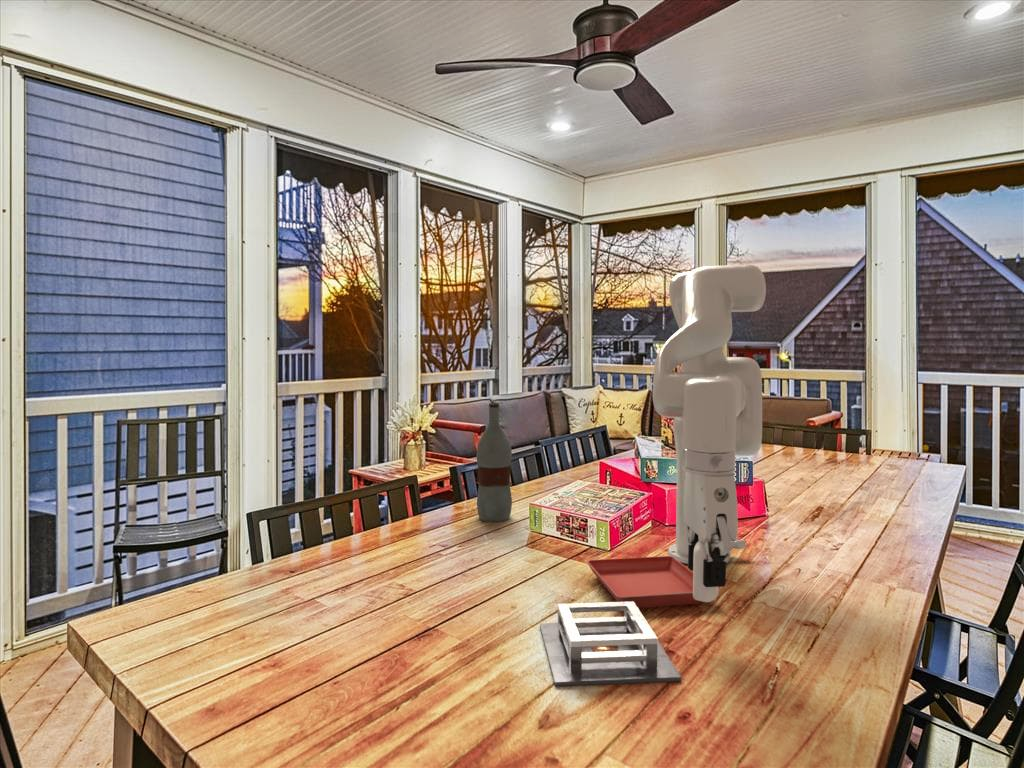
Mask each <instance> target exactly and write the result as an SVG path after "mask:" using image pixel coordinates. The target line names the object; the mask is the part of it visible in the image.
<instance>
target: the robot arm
mask: <svg viewBox="0 0 1024 768" xmlns="http://www.w3.org/2000/svg"><path fill="white" fill-rule="evenodd" d="M765 278H766V277H765V275H764V273H763V272H762V270H761V269H760V268H759V266H756V265H752V264H733V265H732V264H731V265H730V264H729V265H728V264H727V265H707V266H706V265H705V266H700V267H697V268H695V269H692V270H691V271H685V272H680V273H678V274H676V275H674V276H673V277H672V278H671V280H670V282H669V285H668V286H669V288H668V292H669V293H668V294H669V295H668V296H669V302H670V307H671V310H672V313H673V316H674V319H675V321H676V323H677V326H678V330H677V331H675V332H673V334H672V335H671V336H670V337H669V338H668V339H667V340H666V342H664V344H663V345H662V346H661V348H660V349H659V350H658V353H657V355H656V358H655V361H654V367H653V380H652V381H653V382H652V402H653V403H652V404H653V407H654V409H655V411H656V413H657V414H658V415H659V416H661V417H662V418H663V417H664V418H667V419H674V420H673V423H672V425H673V428H672V429H673V431H672V432H673V438H674V447H675V455H676V457H675V458H676V510H675V512H676V513H675V514H676V517H675V518H676V520H675V526H676V528H675V543H673V544H671V545H670V546H669V547H668V551H667V553H668V556H672V557H674V558H675V559H677V560H678V561H679V562H680V563H682V564H685V565H687V568H688V569H689V570H691V571H692V572H693V560H694V547H695V545H696V543H697V542H698V541H699V540H698V536H700V537H701V538H702V539H703V540H704V541H705V551H706V560H704V562H703V585H704V586H705V587H721V588H722V587H723V588H724V587H726V580H727V579H726V578H727V564H728V563H729V562H730V560H731V553H730V552H731V551H732V550H745V549H746V547H747V544H746V543H747V542H746V541H745V539H738V533H739V532H738V530H739V527H738V525H739V523H738V522H739V521H738V499H737V496H738V495H737V489H736V487H737V485H736V481H735V480H736V479H735V475H734V474H735V472H736V456H741V457H743V456H745V457H746V456H754V455H756V454H757V453H758V452H759V451H760V450H761V447H762V441H763V377H762V371H761V368H760V365H759V363H758V362H757V360H755V359H753V358H751V357H745V356H744V357H743V356H725V354H724V346H725V345H726V344H727V343H728V342H729V341H730V339H731V337H732V335H733V318H732V313H747V312H748V313H749V312H751V313H753V312H756V311H760V309H761V308H762V307H763V306H764V304H765V300H766V294H767V285H766V284H767V283H766V279H765ZM679 366H680V367H681V368H680V371H675V372H674V371H673V370H675V369H676V368H677V367H679ZM711 535H715V539H712V538H711ZM716 543H717V544H718V547H715V548H714V549H713V551H712V547H711V544H716Z"/></svg>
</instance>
